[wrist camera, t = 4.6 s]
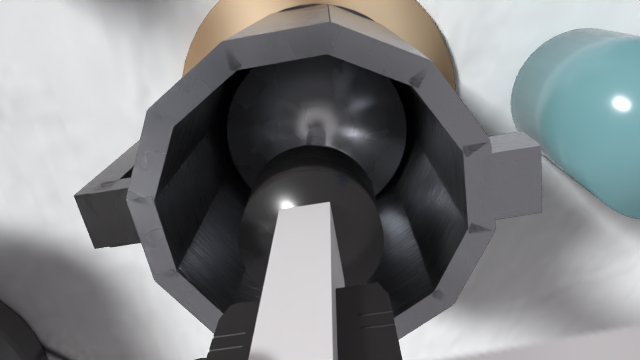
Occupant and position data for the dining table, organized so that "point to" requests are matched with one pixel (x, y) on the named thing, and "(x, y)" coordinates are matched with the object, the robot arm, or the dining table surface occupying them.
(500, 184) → the carafe
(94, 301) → the dining table surface
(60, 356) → the dining table surface
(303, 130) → the plunger
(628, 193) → the mug
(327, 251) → the robot arm
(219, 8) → the trivet
